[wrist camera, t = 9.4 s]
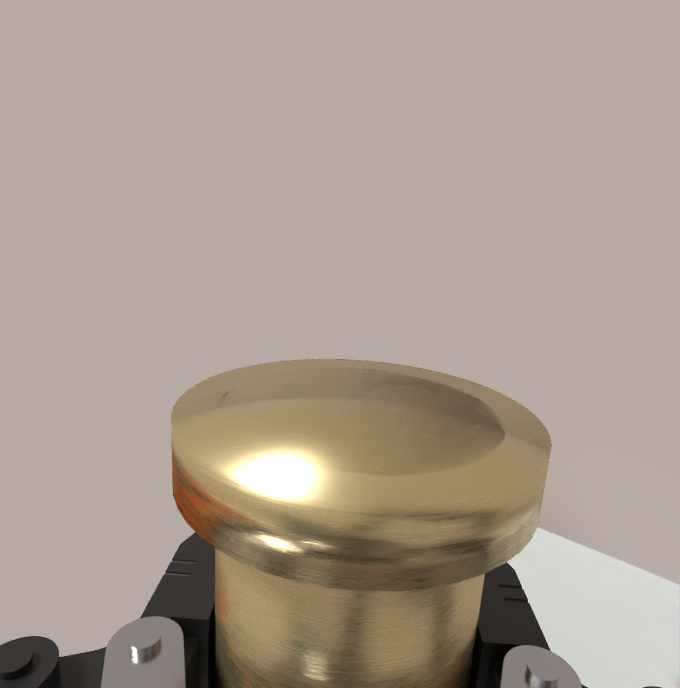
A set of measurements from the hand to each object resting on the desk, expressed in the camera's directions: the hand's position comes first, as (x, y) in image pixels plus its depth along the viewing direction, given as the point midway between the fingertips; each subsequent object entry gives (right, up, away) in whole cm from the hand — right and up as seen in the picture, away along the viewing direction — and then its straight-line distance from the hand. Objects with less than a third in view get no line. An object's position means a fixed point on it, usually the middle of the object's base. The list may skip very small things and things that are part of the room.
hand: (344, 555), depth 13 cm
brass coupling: (0, -7, -1) cm, 7 cm away
